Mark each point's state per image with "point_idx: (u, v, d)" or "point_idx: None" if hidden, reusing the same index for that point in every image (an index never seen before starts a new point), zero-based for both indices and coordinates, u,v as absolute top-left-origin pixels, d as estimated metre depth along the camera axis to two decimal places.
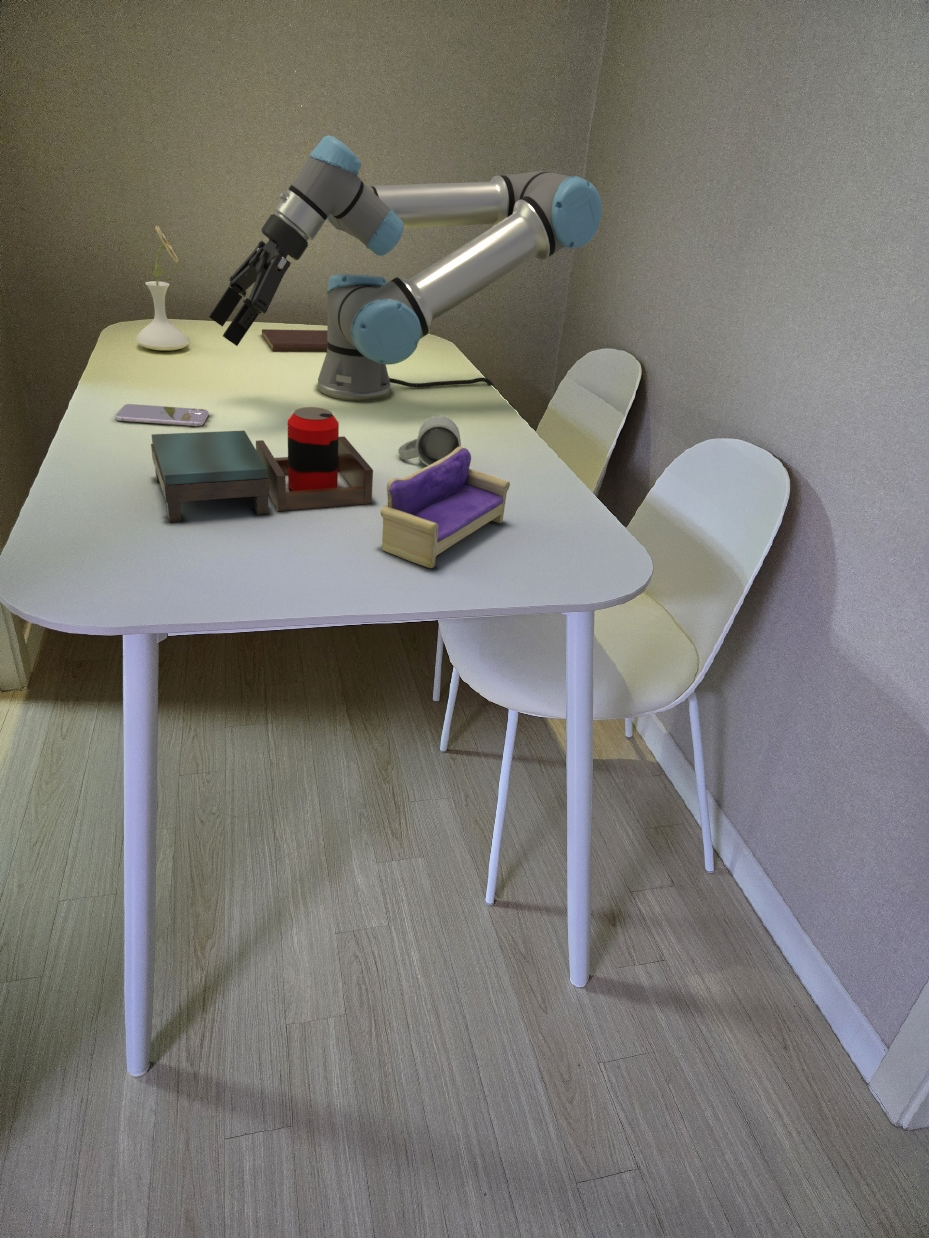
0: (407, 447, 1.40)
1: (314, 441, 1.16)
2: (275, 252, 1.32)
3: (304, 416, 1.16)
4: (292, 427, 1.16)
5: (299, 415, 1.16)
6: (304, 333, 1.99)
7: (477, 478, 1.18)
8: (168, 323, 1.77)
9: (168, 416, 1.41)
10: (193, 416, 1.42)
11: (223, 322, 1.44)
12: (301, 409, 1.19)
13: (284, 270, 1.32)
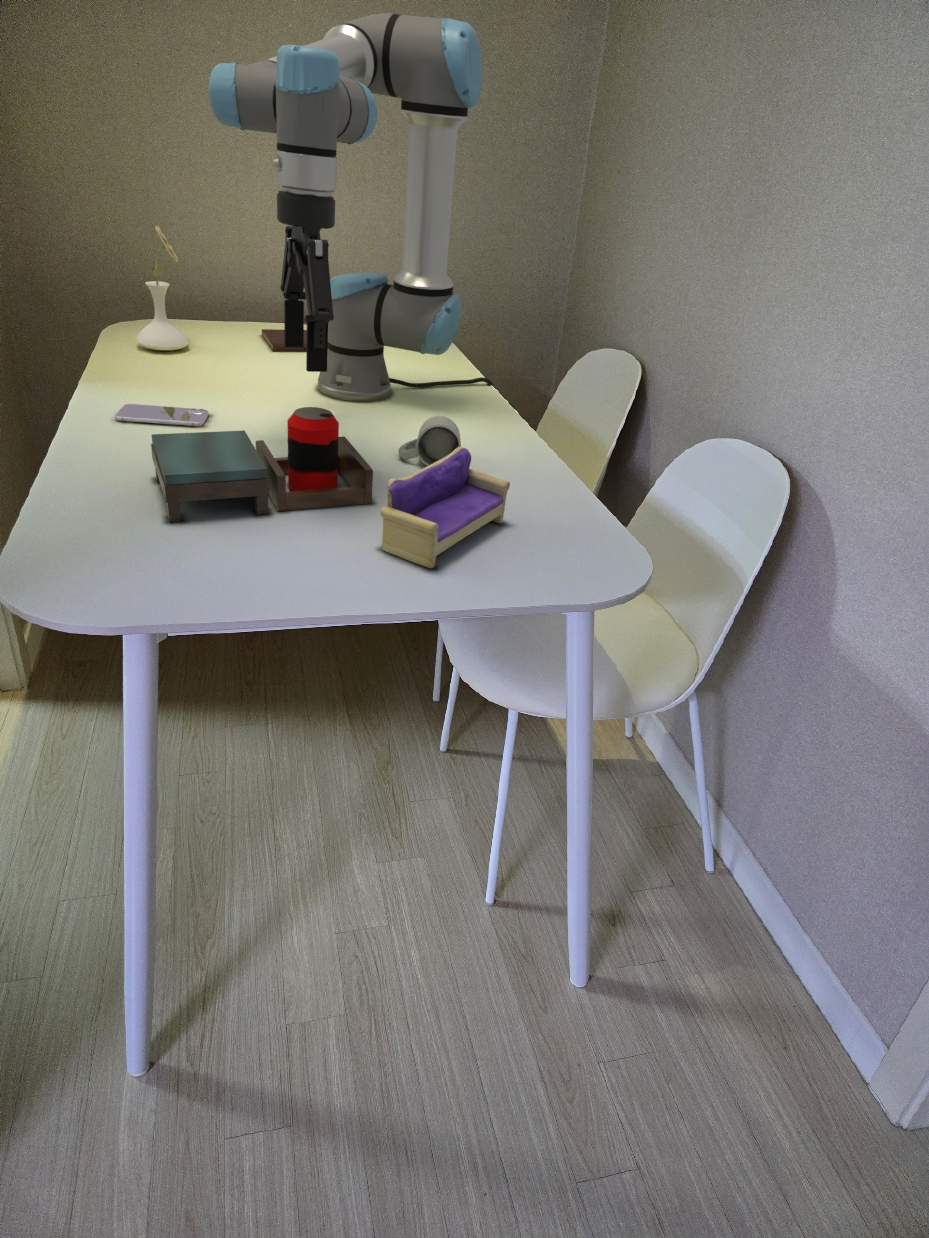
0: (407, 447, 1.40)
1: (314, 441, 1.16)
2: (305, 238, 1.03)
3: (303, 416, 1.16)
4: (292, 427, 1.16)
5: (299, 415, 1.16)
6: (304, 333, 1.99)
7: (477, 478, 1.18)
8: (168, 323, 1.77)
9: (168, 416, 1.41)
10: (193, 416, 1.42)
11: (301, 342, 1.19)
12: (301, 409, 1.19)
13: (326, 254, 1.01)
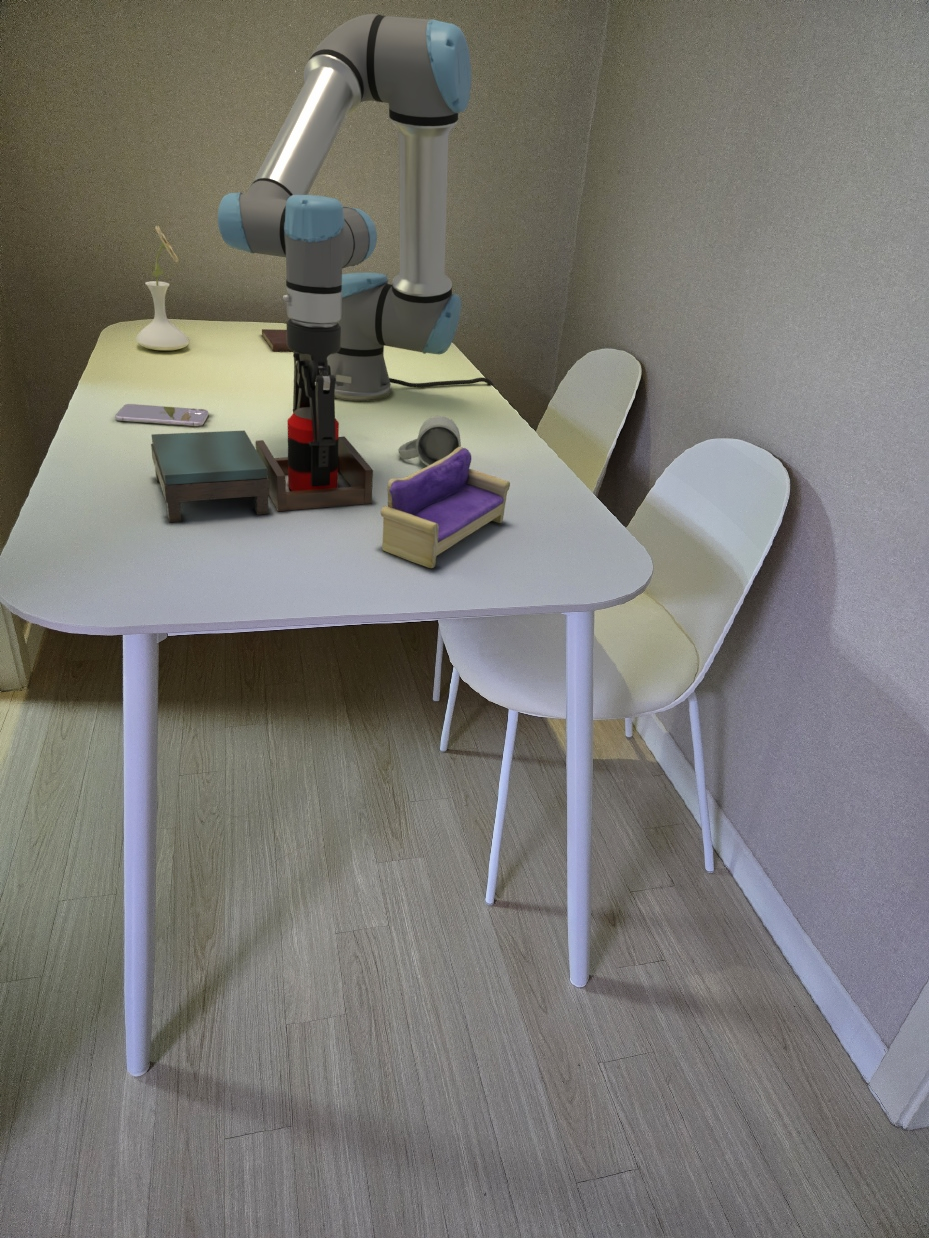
0: (407, 447, 1.40)
1: None
2: (314, 367, 1.10)
3: (303, 416, 1.16)
4: (292, 427, 1.16)
5: (299, 415, 1.16)
6: None
7: (477, 478, 1.18)
8: (168, 323, 1.77)
9: (168, 416, 1.41)
10: (193, 416, 1.42)
11: None
12: (301, 409, 1.19)
13: (332, 388, 1.10)
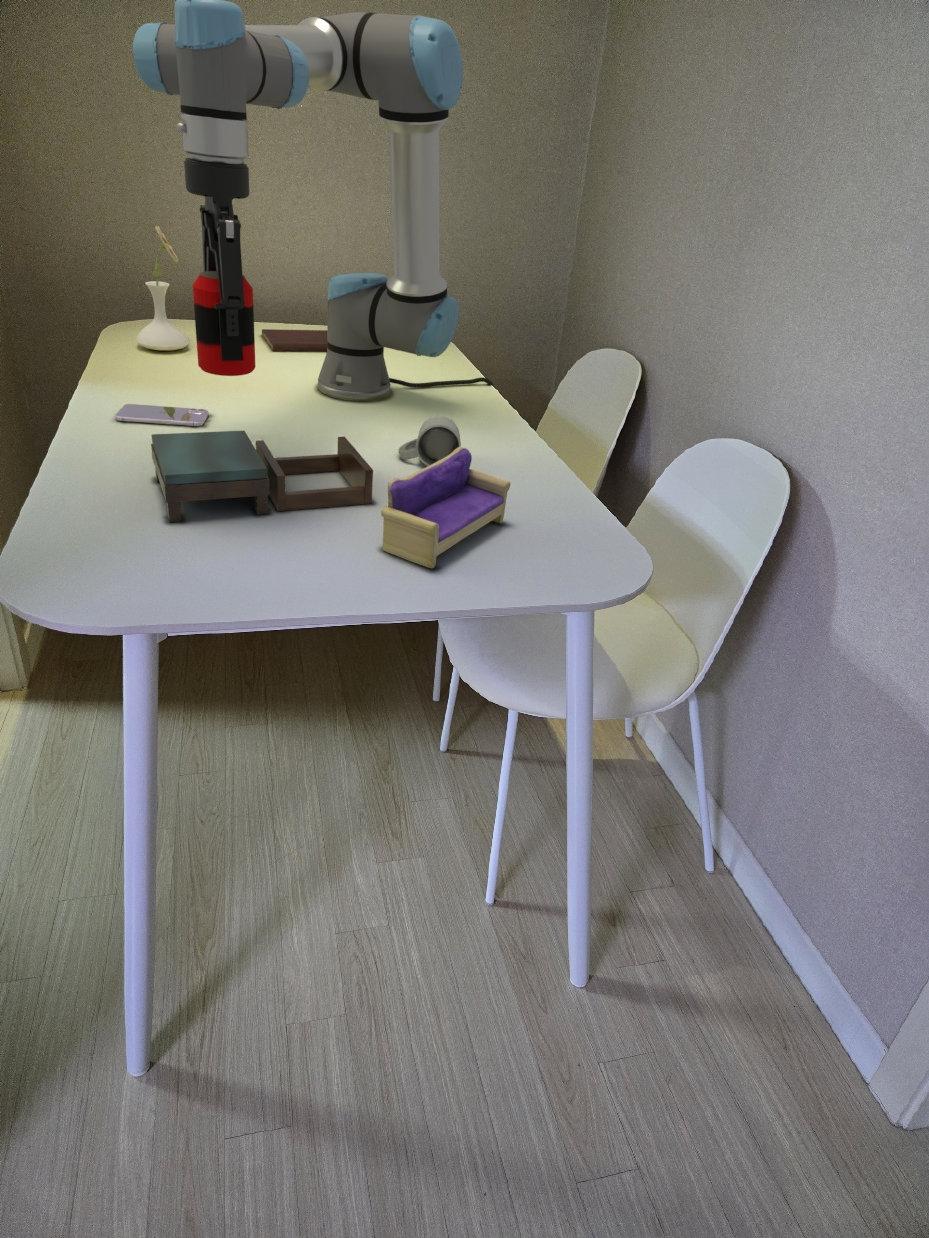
0: (407, 447, 1.40)
1: None
2: (216, 211, 0.95)
3: (210, 276, 1.01)
4: (196, 289, 1.01)
5: (204, 276, 1.01)
6: (304, 333, 1.99)
7: (477, 478, 1.18)
8: (168, 323, 1.77)
9: (168, 416, 1.41)
10: (193, 416, 1.42)
11: None
12: (209, 272, 1.04)
13: (237, 236, 0.95)
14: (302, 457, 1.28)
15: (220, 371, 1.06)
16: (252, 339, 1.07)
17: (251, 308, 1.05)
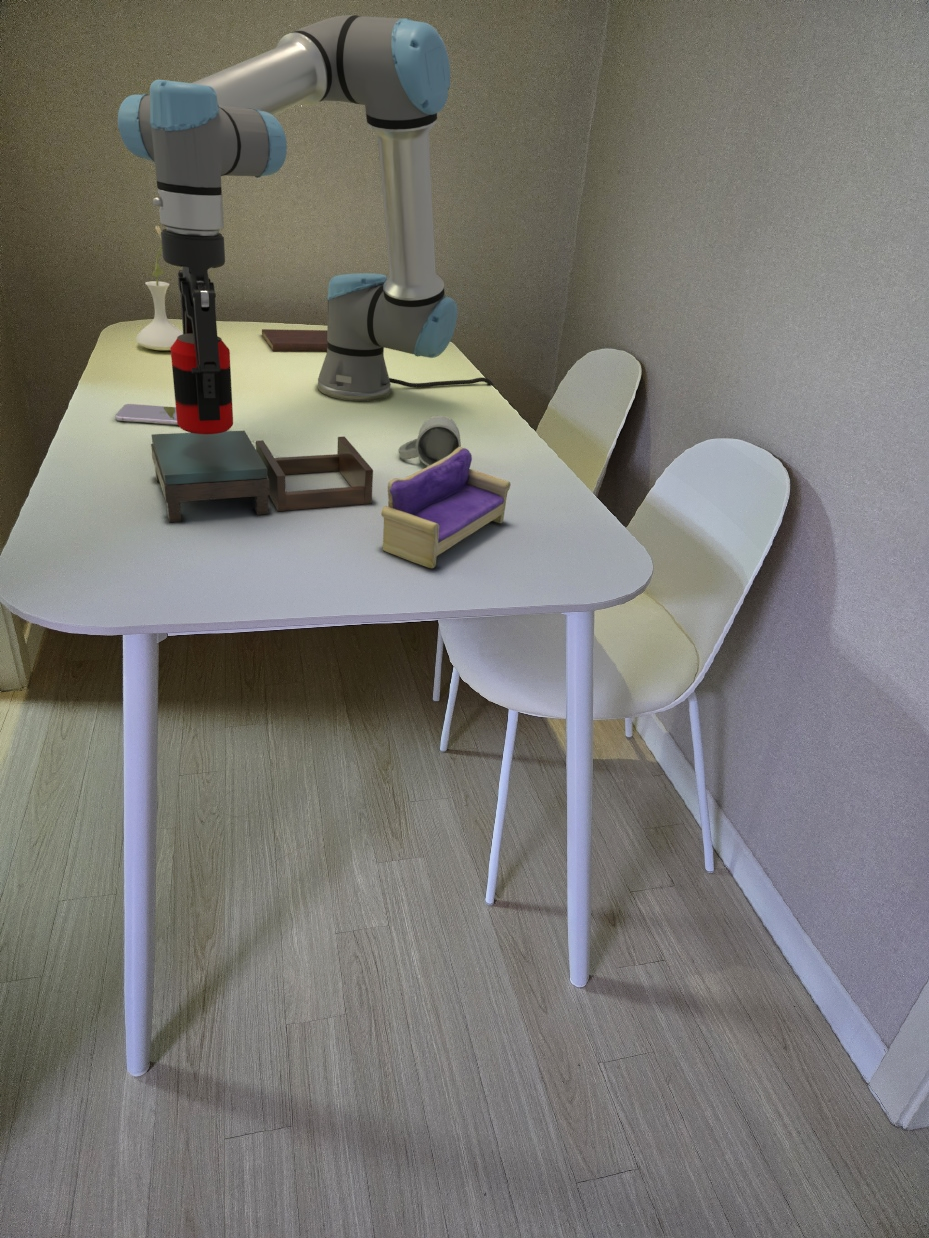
0: (407, 447, 1.40)
1: None
2: (192, 281, 0.98)
3: (187, 340, 1.04)
4: (174, 353, 1.04)
5: (182, 340, 1.04)
6: (304, 333, 1.99)
7: (478, 478, 1.18)
8: (168, 323, 1.77)
9: (168, 416, 1.41)
10: None
11: None
12: (187, 335, 1.07)
13: (212, 305, 0.98)
14: (302, 457, 1.28)
15: (198, 430, 1.09)
16: (229, 398, 1.10)
17: (228, 369, 1.07)
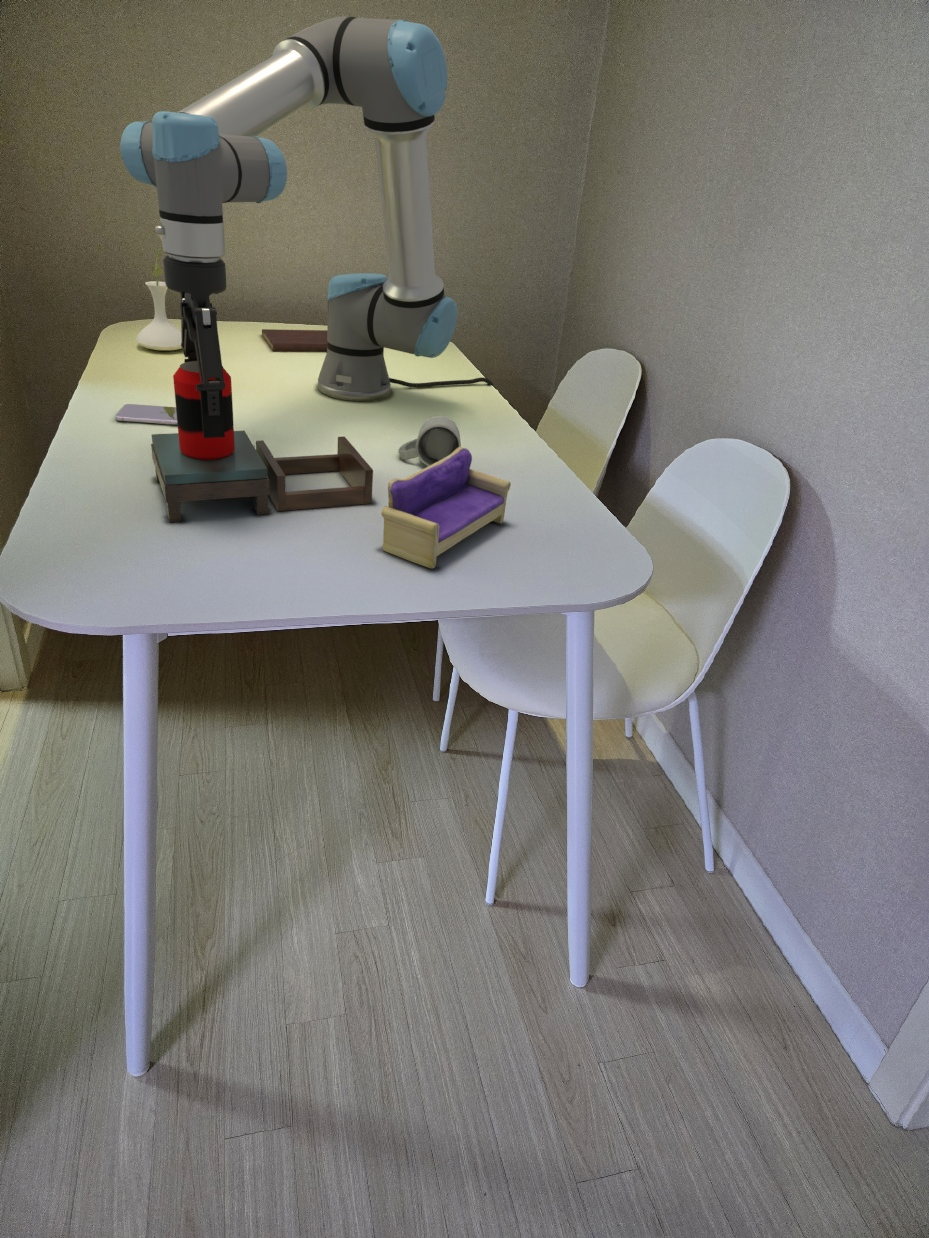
0: (407, 447, 1.40)
1: None
2: (193, 305, 1.00)
3: (189, 369, 1.06)
4: (177, 381, 1.06)
5: (184, 368, 1.06)
6: (304, 333, 1.99)
7: (478, 478, 1.18)
8: (168, 323, 1.77)
9: (168, 416, 1.41)
10: None
11: None
12: (189, 363, 1.09)
13: (214, 322, 0.99)
14: (302, 457, 1.28)
15: (200, 456, 1.11)
16: (231, 424, 1.12)
17: (229, 396, 1.09)
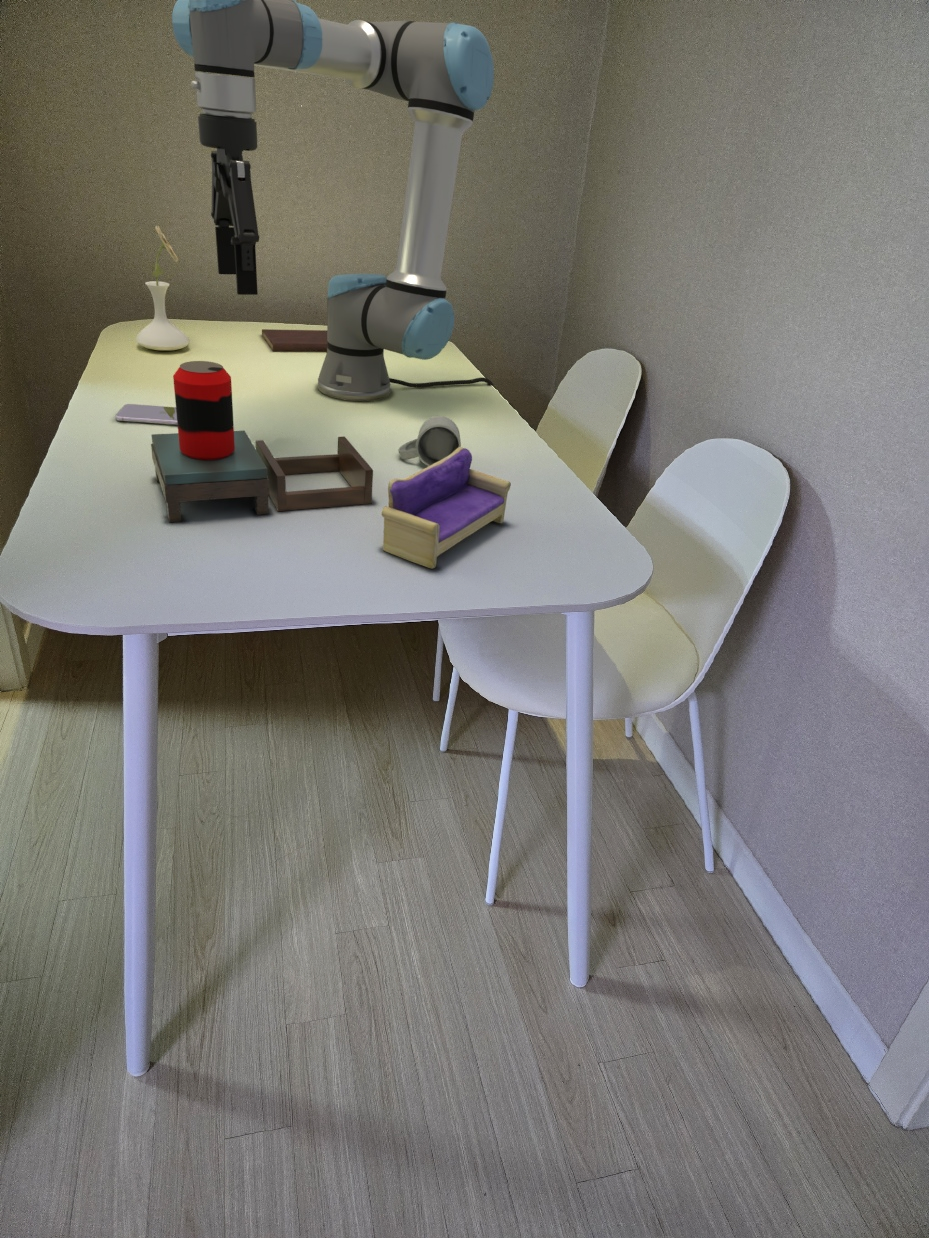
0: (407, 447, 1.40)
1: (201, 397, 1.06)
2: (228, 160, 1.05)
3: (189, 369, 1.06)
4: (177, 381, 1.06)
5: (184, 368, 1.06)
6: (304, 333, 1.99)
7: (478, 478, 1.18)
8: (168, 323, 1.77)
9: (168, 416, 1.41)
10: None
11: (235, 269, 1.22)
12: (189, 363, 1.09)
13: (248, 175, 1.04)
14: (302, 457, 1.28)
15: (200, 456, 1.11)
16: (231, 424, 1.12)
17: (229, 396, 1.09)
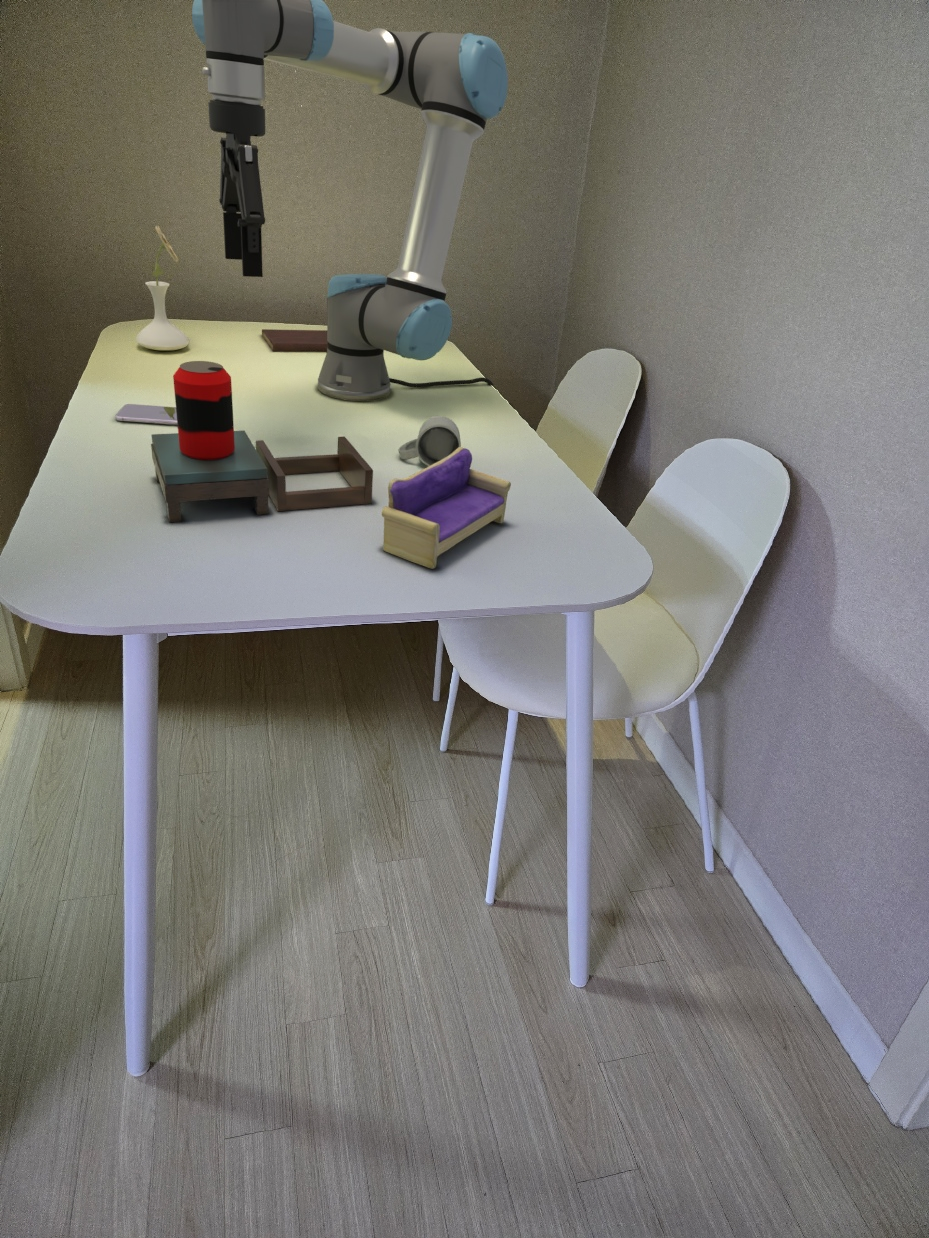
0: (407, 447, 1.40)
1: (201, 397, 1.06)
2: (236, 144, 1.08)
3: (189, 369, 1.06)
4: (177, 381, 1.06)
5: (184, 368, 1.06)
6: (304, 333, 1.99)
7: (478, 478, 1.18)
8: (168, 323, 1.77)
9: (168, 416, 1.41)
10: None
11: (241, 254, 1.25)
12: (189, 363, 1.09)
13: (255, 159, 1.07)
14: (302, 457, 1.28)
15: (200, 456, 1.11)
16: (231, 424, 1.12)
17: (229, 396, 1.09)
